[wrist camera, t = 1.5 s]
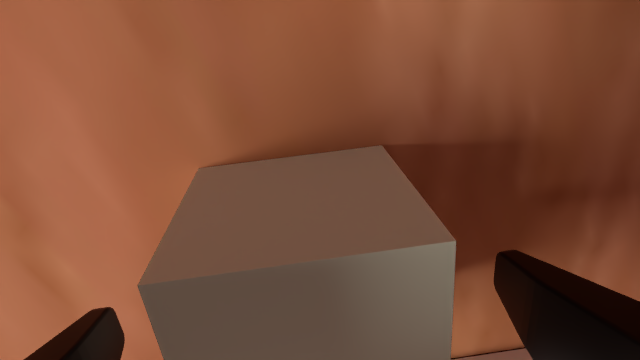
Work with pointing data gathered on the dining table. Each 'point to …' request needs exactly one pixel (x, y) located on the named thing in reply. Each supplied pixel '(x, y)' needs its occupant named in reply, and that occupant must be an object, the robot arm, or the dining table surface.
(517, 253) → the robot arm
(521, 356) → the build board
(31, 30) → the dining table surface
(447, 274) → the sage block
